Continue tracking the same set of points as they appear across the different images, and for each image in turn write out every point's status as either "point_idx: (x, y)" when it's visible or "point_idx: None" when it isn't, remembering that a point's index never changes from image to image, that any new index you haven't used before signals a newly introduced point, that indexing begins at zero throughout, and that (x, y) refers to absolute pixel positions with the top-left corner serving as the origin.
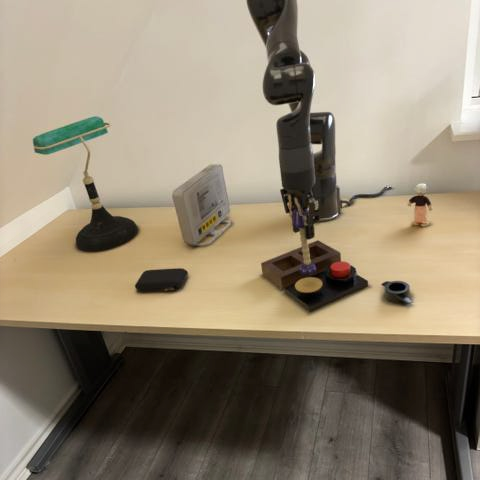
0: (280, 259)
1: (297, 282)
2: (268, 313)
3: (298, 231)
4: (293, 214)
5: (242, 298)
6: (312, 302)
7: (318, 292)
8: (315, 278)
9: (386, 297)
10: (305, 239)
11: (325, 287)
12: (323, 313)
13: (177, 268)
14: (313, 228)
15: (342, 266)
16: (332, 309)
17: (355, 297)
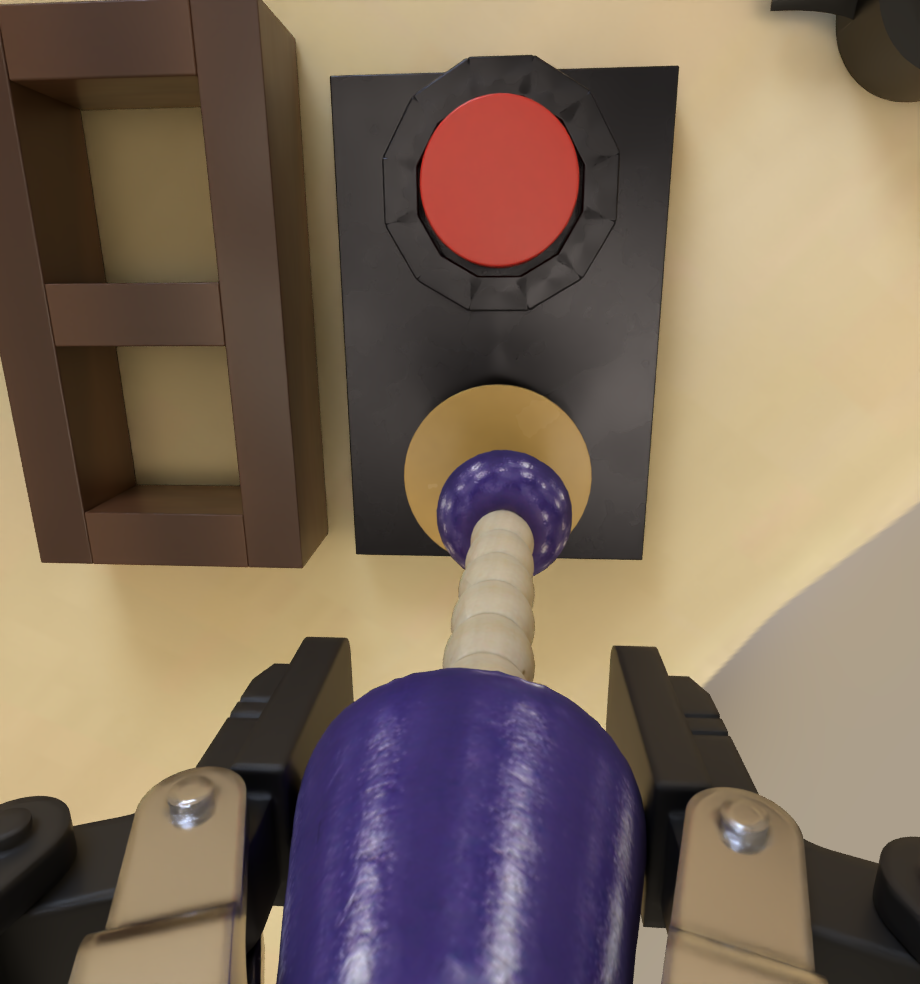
0: (70, 438)
1: (424, 518)
2: None
3: (350, 685)
4: (261, 976)
5: None
6: (616, 521)
7: None
8: (465, 401)
9: (908, 94)
10: (532, 676)
11: (531, 360)
12: (695, 495)
13: None
14: (741, 772)
15: (516, 172)
16: (702, 433)
17: (706, 242)
